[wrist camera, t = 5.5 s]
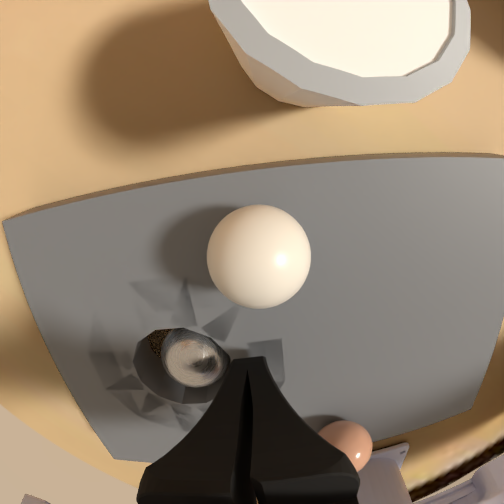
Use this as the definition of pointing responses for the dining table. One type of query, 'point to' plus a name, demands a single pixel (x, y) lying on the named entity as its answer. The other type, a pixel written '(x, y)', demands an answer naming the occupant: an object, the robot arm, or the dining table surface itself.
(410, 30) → the white tapered cup
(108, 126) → the dining table surface
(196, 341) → the steel ball
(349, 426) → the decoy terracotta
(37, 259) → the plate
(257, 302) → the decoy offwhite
